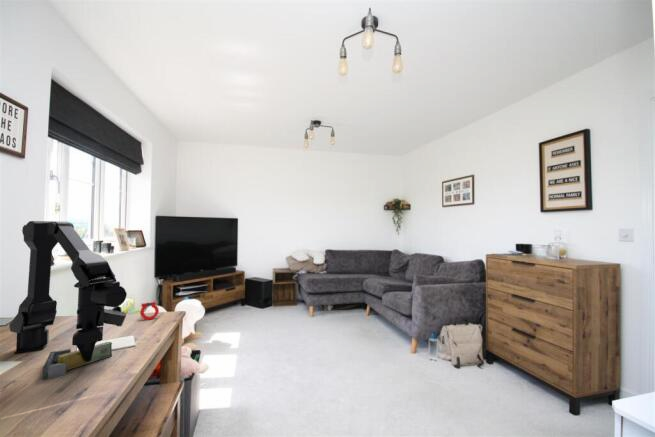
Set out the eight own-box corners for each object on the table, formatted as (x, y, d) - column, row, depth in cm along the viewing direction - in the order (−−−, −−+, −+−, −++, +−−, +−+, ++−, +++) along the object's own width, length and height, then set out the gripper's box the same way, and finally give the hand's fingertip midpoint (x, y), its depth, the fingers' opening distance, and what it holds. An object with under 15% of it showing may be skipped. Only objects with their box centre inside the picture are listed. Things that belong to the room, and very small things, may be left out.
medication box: (107, 354, 89) (107, 341, 90) (112, 355, 88) (112, 342, 88) (57, 370, 79) (57, 355, 79) (62, 372, 77) (62, 356, 78)
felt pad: (74, 357, 87) (74, 356, 87) (77, 346, 95) (77, 345, 95) (135, 346, 96) (135, 344, 96) (133, 336, 104) (133, 335, 104)
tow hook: (141, 320, 120) (139, 303, 123) (136, 328, 126) (134, 312, 129) (159, 317, 124) (157, 300, 127) (154, 325, 130) (152, 309, 133)
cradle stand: (42, 379, 74) (42, 367, 74) (50, 362, 83) (50, 352, 84) (65, 374, 77) (66, 363, 77) (70, 358, 86) (71, 348, 86)
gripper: (126, 306, 82) (124, 363, 81) (123, 293, 97) (122, 341, 96) (73, 313, 75) (70, 375, 75) (79, 298, 90) (77, 349, 90)
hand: (88, 358), depth 84 cm, fingers closed on medication box, 4 cm apart
